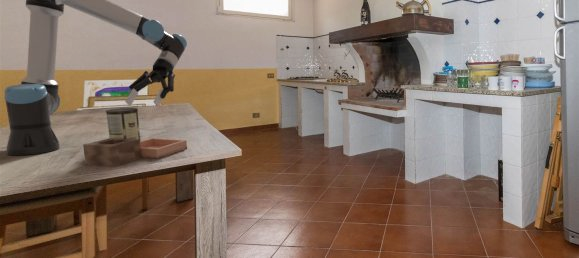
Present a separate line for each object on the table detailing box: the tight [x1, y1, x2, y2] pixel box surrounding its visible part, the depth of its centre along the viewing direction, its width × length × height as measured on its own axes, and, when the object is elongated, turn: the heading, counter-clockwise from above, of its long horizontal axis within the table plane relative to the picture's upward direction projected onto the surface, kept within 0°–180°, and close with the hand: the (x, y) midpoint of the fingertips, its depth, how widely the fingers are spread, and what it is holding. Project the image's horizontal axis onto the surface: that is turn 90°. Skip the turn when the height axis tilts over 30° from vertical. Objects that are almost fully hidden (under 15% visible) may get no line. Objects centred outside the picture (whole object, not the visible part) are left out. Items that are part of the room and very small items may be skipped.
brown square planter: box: [82, 138, 142, 168], centre depth 106 cm, size 11×11×6 cm
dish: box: [140, 137, 188, 160], centre depth 117 cm, size 15×15×3 cm
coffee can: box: [105, 107, 141, 140], centre depth 124 cm, size 10×10×14 cm
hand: (141, 104), depth 131 cm, fingers open, 13 cm apart
